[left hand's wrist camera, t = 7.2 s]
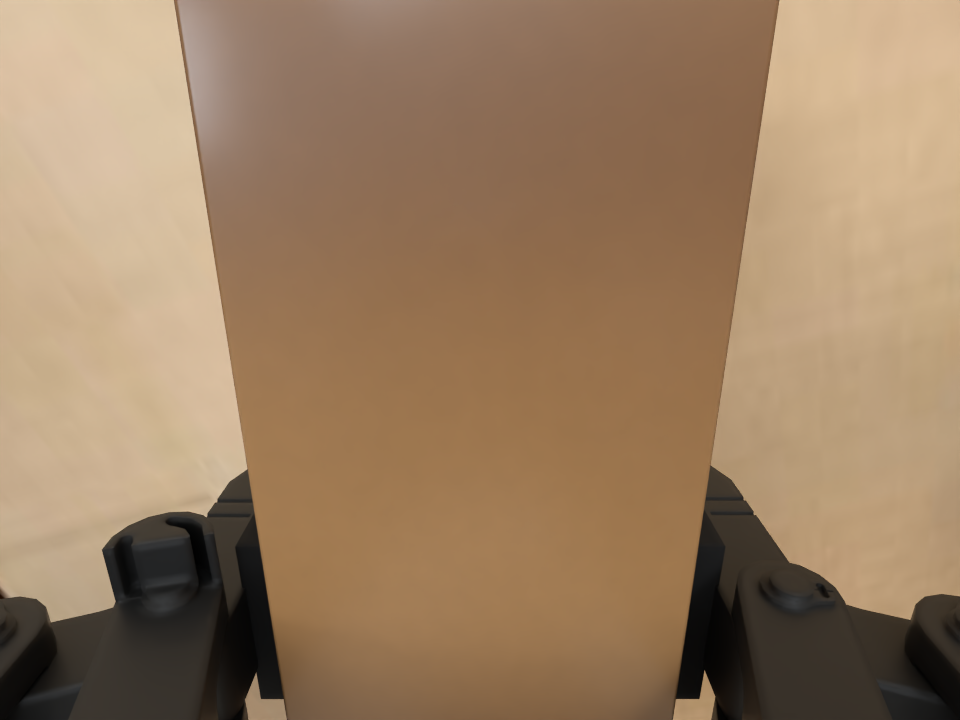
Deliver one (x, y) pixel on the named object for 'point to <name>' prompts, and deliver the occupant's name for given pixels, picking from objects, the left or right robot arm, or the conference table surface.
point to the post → (478, 333)
